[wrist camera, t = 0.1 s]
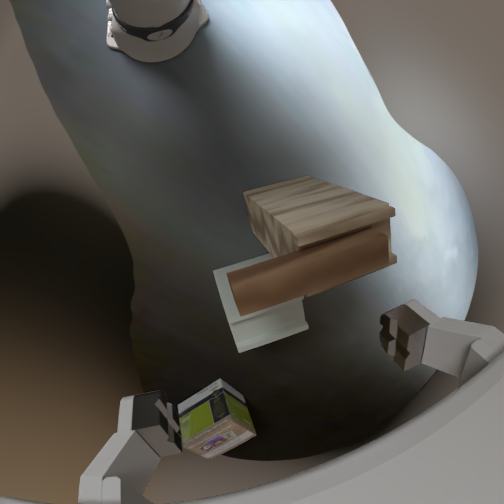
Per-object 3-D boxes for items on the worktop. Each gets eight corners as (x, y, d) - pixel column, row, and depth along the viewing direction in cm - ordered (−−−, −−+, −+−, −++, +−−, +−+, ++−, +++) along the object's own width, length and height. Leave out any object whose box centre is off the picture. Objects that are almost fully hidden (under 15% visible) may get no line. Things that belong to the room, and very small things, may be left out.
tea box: (202, 419, 75) (209, 461, 62) (176, 403, 71) (181, 448, 58) (244, 394, 75) (257, 436, 61) (220, 376, 71) (231, 421, 57)
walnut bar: (226, 273, 32) (231, 287, 29) (371, 226, 35) (388, 235, 32) (234, 300, 34) (240, 316, 31) (372, 252, 36) (389, 263, 33)
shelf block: (242, 192, 56) (296, 235, 31) (306, 175, 58) (394, 205, 33) (252, 231, 59) (307, 299, 35) (313, 213, 61) (396, 264, 36)
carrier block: (212, 270, 60) (227, 319, 44) (270, 253, 62) (303, 293, 46) (222, 299, 63) (238, 352, 47) (276, 282, 65) (308, 328, 49)
